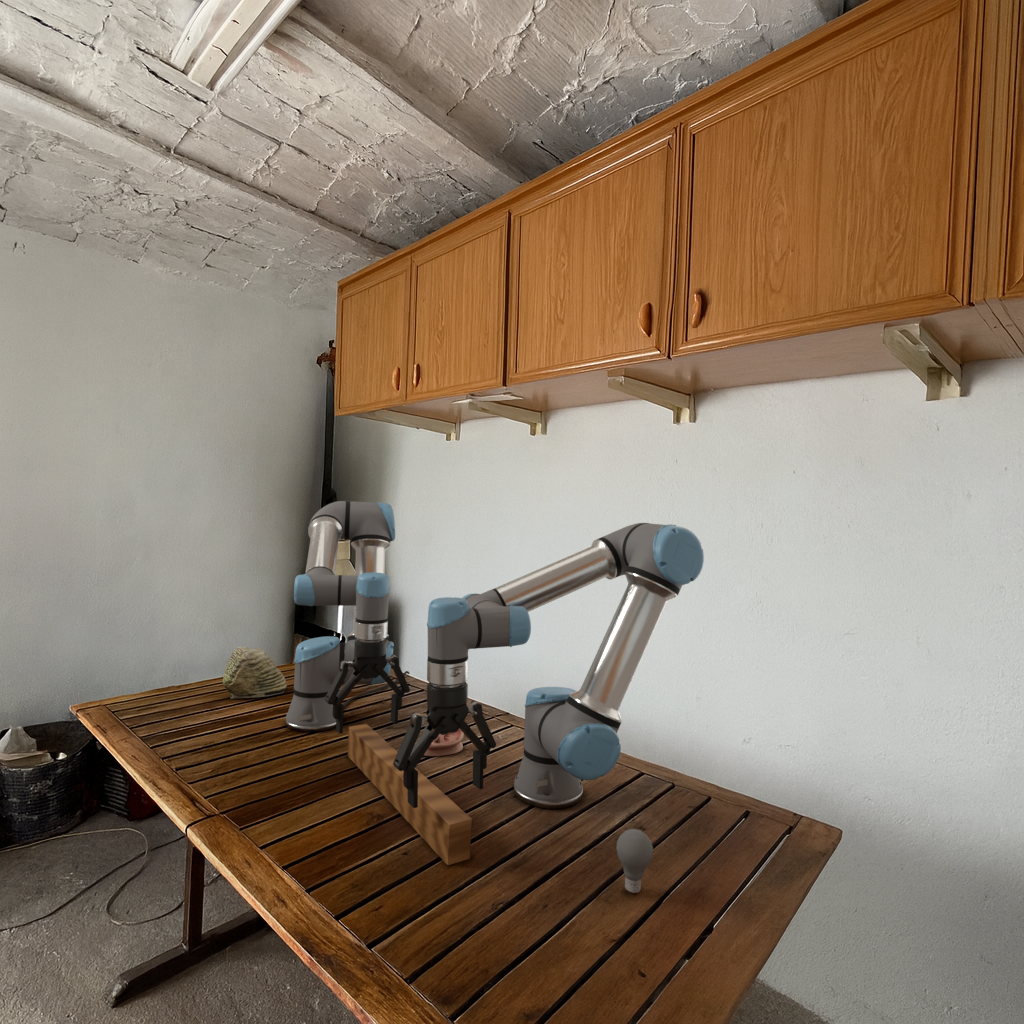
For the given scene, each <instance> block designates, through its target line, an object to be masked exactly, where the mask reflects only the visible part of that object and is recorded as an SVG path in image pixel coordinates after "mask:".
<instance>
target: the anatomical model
mask: <svg viewBox="0 0 1024 1024" xmlns="http://www.w3.org/2000/svg"><path fill="white" fill-rule="evenodd" d="M464 738H465V734H464V733H463V732H462V731H461V730H460V729H458V730H457V732H454V733H451V732H449V733H447V734H445V735H441V734H439V736H438V737H437V739H435V740H433V742H432V743H431V745H430V746H429V748H428V749H427V751H426V752H425V754H424V755H423V757H440V756H449V755H453V754H458V753H459V752H461V751H463V748H464V746H463V742H462V741H463V740H464ZM416 743H417V741H416ZM416 743H415V744H416ZM414 746H415V745H414Z"/></svg>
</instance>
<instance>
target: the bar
mask: <svg viewBox="0 0 1024 1024" xmlns="http://www.w3.org/2000/svg"><path fill="white" fill-rule="evenodd" d="M397 753H398V750H396V749H395V748H393V746H391V745H390V744H389V743H388V742H387V741H386V740H385V739H384V738H383V737H381V735H379V734H378V733H377V732H376V731H375V730H374V729H373V728H372V727H371V726H369V724H367V723H364V724H357V725H351V726H348V739H347V757H348V758H349V760H351V761H352V762H353V764H354V765H355V766H356V767H357V768H358V769H359V770H360V771H361V772H362V773H363V775H364V776H365V777H366V778H367V779H368V780H369V781H370V782H371V783H372V785H374V787H376V789H377V790H378V791H379V792H380V793H381V794H382V796H384V798H385V799H387V801H388V802H389V803H390V804H391V805H392V806H393V807H394V808H395V809H396V811H397V812H398V813H399V814H400V815H401V816H402V817H403V818H404V819H405V821H406V822H407V823H408V824H409V825H410V827H412V828H413V830H415V831H416V832H417V834H418V835H419V836H420V837H421V839H422V840H424V841H425V842H426V844H427V845H428V846H429V847H430V848H431V849H432V850H433V851H434V852H435V853H436V854H437V855H438V856H439V858H440V859H441V860H442V861H443V862H444V863H445V864H446V865H447V866H451V865H454V864H457V863H461V862H463V861H467V860H470V859H471V844H472V843H471V842H472V824H473V823H472V822H473V820H472V818H471V817H470V815H468V814H467V813H466V812H465V811H464V810H463V809H461V807H459V806H458V805H457V804H456V803H455V802H454V801H453V800H452V799H451V798H449V797H448V796H447V794H445V793H444V792H442V790H440V789H439V788H438V787H437V786H436V785H435V784H434V783H433V782H431V780H429V779H428V778H427V777H426V776H425V775H424V774H423V773H422V772H420V770H419V769H417V768H416V767H415V769H416V770H417V771H418V807H417V808H413V807H412V806H411V805H410V804H409V803H408V790H407V789H406V788H405V787H404V784H403V779H404V778H403V771H399V770H398V769H397V768H396V767H395V766H394V765H393V762H394V760H395V757H396V755H397Z"/></svg>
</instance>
